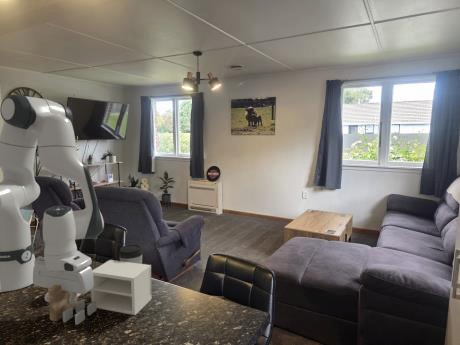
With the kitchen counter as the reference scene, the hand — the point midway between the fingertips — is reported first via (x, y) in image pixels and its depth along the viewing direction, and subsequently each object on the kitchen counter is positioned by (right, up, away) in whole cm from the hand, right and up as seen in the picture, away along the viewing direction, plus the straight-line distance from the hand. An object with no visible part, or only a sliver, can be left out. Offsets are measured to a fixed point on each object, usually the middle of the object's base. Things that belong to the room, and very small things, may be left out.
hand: (63, 301), depth 94 cm
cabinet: (+14, -3, +2) cm, 14 cm away
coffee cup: (+16, -2, +17) cm, 23 cm away
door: (0, -4, 0) cm, 4 cm away
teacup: (-6, -3, +12) cm, 13 cm away
